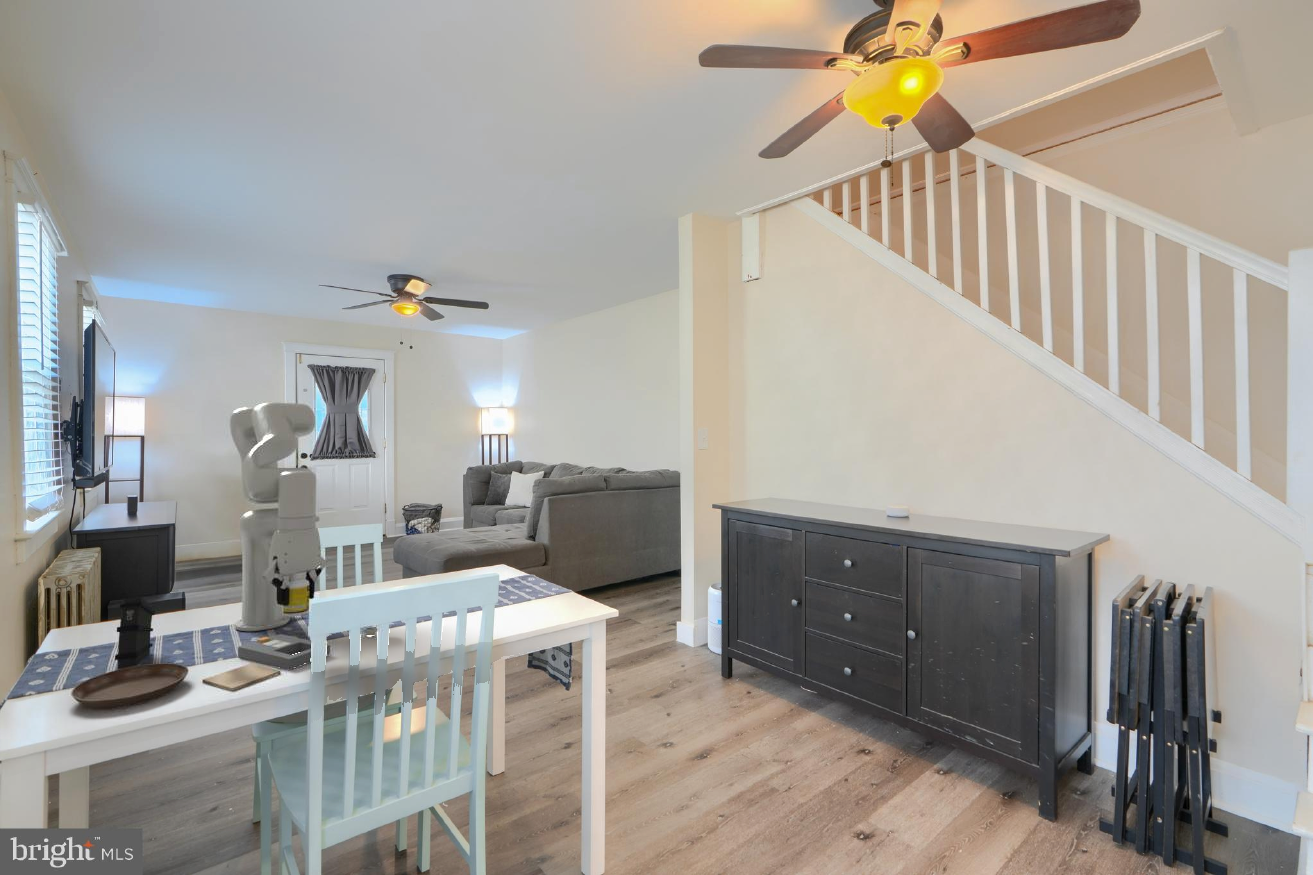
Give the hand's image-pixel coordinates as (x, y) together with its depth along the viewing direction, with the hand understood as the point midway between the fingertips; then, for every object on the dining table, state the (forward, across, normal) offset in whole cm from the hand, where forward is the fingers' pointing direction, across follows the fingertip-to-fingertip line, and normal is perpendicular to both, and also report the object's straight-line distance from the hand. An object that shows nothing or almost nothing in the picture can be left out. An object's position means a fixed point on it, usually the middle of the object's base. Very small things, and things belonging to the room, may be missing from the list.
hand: (295, 600), depth 140 cm
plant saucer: (+14, +26, -11) cm, 32 cm away
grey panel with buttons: (+14, 0, -3) cm, 14 cm away
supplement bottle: (+3, 0, 0) cm, 3 cm away
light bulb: (+14, -19, +3) cm, 23 cm away
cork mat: (+13, +12, +1) cm, 18 cm away
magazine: (+14, +16, -31) cm, 38 cm away
